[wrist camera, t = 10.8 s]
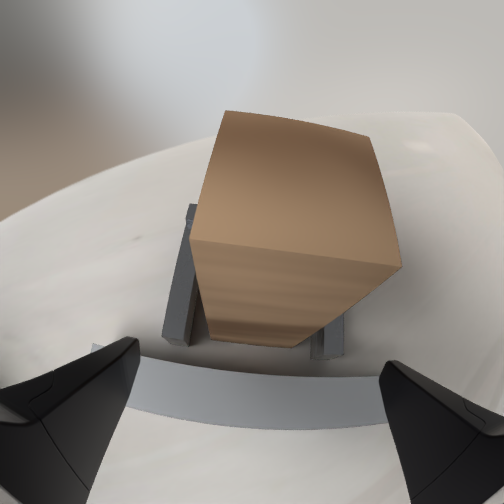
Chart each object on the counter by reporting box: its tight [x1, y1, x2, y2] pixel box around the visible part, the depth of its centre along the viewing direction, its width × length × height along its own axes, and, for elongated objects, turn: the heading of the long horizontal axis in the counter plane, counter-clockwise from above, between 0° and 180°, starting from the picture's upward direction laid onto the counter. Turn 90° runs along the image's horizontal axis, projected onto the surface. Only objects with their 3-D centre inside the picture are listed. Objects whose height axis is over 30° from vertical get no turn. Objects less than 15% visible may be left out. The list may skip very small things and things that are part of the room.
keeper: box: [162, 204, 344, 360], centre depth 17 cm, size 8×10×3 cm
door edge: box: [91, 343, 388, 430], centre depth 14 cm, size 3×18×2 cm, turn 85°
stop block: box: [189, 111, 402, 348], centre depth 12 cm, size 5×5×12 cm
